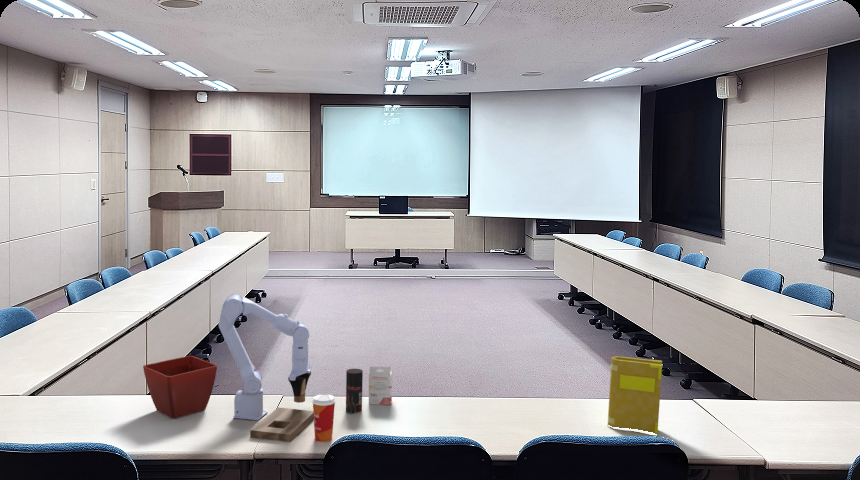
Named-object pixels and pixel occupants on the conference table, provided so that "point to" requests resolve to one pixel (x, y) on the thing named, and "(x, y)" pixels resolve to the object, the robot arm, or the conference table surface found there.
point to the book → (634, 393)
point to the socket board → (282, 424)
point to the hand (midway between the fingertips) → (299, 394)
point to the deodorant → (354, 390)
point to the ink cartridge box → (380, 386)
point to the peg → (302, 396)
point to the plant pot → (180, 385)
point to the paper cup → (323, 417)
